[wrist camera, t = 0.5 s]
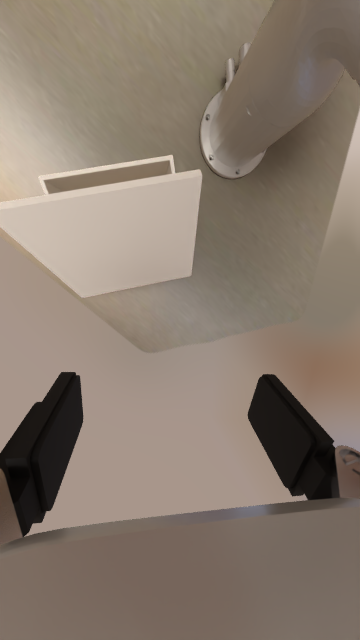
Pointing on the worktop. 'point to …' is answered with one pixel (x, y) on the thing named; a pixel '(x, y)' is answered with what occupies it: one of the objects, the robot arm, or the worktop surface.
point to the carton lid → (111, 231)
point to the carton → (107, 174)
